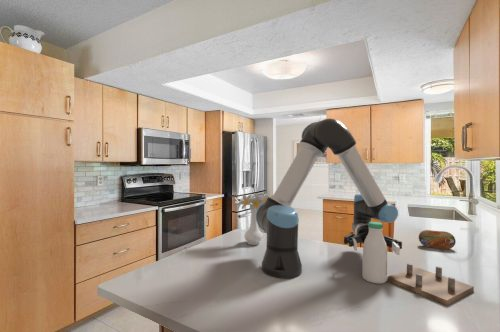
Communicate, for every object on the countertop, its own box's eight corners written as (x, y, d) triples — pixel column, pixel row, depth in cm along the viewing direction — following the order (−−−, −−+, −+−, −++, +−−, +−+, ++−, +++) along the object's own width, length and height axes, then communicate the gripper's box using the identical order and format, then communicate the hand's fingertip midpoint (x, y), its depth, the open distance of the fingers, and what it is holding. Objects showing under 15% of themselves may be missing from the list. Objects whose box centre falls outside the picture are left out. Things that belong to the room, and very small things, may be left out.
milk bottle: (385, 286, 88) (386, 226, 87) (360, 280, 92) (361, 223, 92) (387, 278, 94) (388, 222, 94) (364, 273, 98) (365, 219, 98)
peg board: (387, 280, 92) (387, 266, 92) (415, 270, 101) (415, 257, 101) (446, 305, 77) (447, 288, 76) (473, 291, 86) (474, 275, 86)
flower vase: (232, 240, 137) (233, 191, 136) (267, 239, 140) (268, 191, 140) (235, 248, 124) (236, 195, 123) (273, 246, 127) (274, 194, 127)
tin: (419, 246, 132) (419, 229, 132) (417, 244, 135) (418, 228, 135) (455, 250, 127) (456, 233, 127) (453, 248, 130) (453, 231, 130)
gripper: (397, 245, 110) (416, 263, 89) (334, 239, 116) (339, 256, 95) (398, 227, 110) (417, 241, 89) (335, 222, 116) (339, 235, 95)
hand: (376, 249), depth 92 cm, fingers open, 13 cm apart
